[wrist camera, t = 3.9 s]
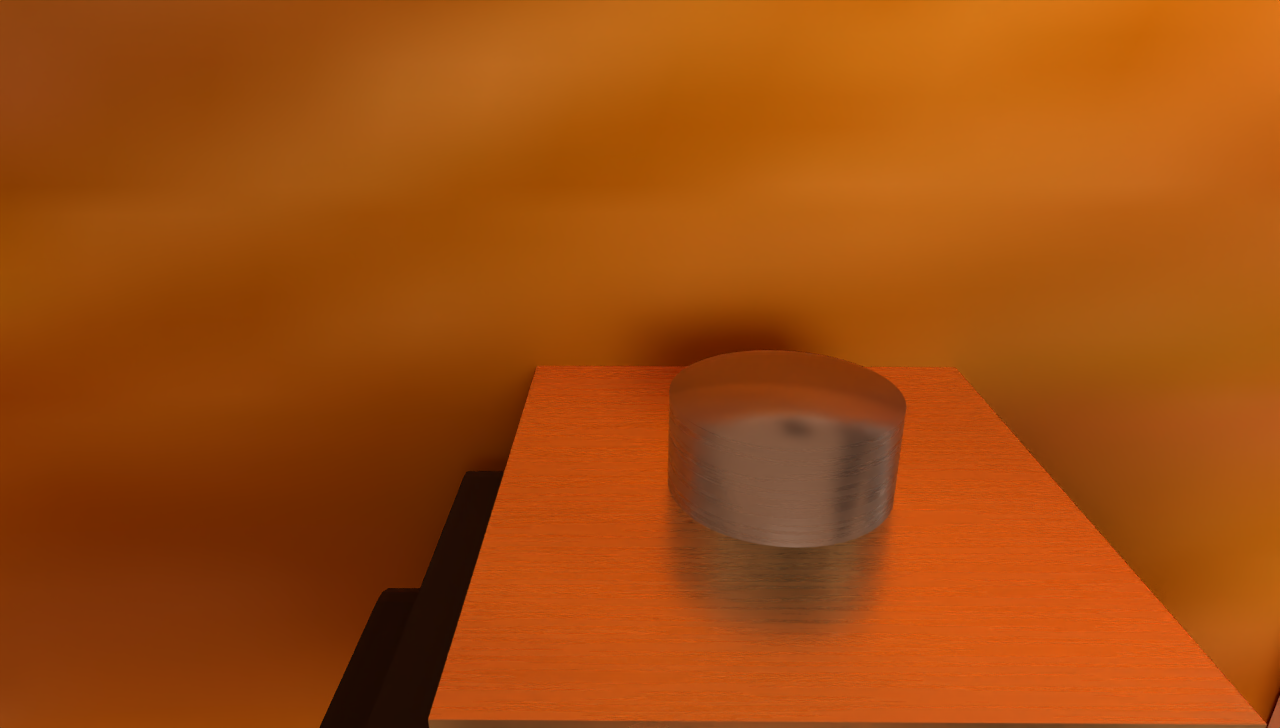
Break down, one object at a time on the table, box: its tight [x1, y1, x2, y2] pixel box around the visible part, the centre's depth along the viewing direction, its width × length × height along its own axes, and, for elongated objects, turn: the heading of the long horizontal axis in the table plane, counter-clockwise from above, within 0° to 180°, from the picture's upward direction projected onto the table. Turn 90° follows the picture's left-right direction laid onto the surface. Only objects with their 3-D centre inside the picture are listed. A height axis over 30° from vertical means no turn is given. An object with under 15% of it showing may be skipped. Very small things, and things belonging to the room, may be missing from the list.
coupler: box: [428, 350, 1267, 728], centre depth 8 cm, size 7×4×5 cm
